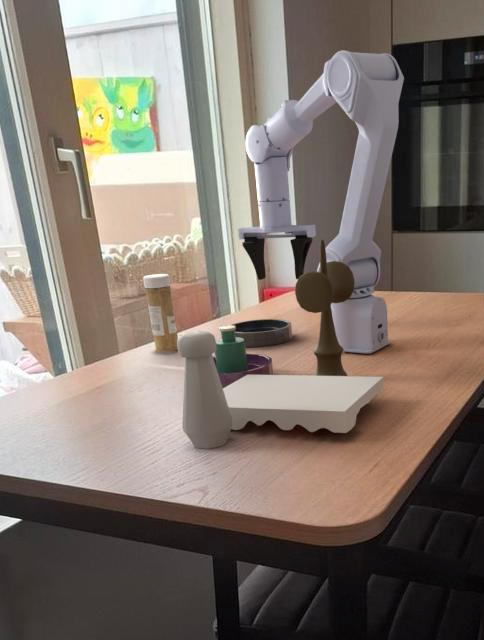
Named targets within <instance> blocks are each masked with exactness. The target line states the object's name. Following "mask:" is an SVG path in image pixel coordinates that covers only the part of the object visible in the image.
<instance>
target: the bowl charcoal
mask: <svg viewBox="0 0 484 640" xmlns="http://www.w3.org/2000/svg"><path fill="white" fill-rule="evenodd" d="M231 325H233V326H235V327H236V329H235V337H240V338H244V340H245V348H266V347H272V346H278V345H282V344H285V343H287V342H290V341H291V340H293V327H292V322H291V321H289V320H285V319H277V318H261V319H250V320H244V321H243V320H242V321H240V322H235V323H232V324H231Z"/></svg>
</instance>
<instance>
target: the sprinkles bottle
mask: <svg viewBox="0 0 484 640" xmlns="http://www.w3.org/2000/svg"><path fill="white" fill-rule="evenodd" d="M142 281H143V287H144V288H145V289H144V290H145V293H146V300H147V307H148V314H149V319H150V326H151V331H152V336H153V340H154V346H155V348H154V351H155V352H157V353H167V352H168V353H169V352H174V351H178V349H177V340H178V338H179V336H178V329H177V327H178V326H177V321H176V317H175V316H176V315H175V310H174V304H173V297H172V291H171V285H172V284H171V277H170V275H169V274H168V273H154V274H148V275H145V276H143V277H142Z"/></svg>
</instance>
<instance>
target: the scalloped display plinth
mask: <svg viewBox="0 0 484 640" xmlns="http://www.w3.org/2000/svg"><path fill="white" fill-rule="evenodd" d="M382 390H384V376H362V375H361V376H356V375H351V376H350V375H347V376H314V375H300V374H299V375H297V374H296V375H295V374H293V375H292V374H291V375H290V374H273V375H246V376H244V377H243V378H241V379H239V380H237V381H235V382H234V383H232V384H230V385H228V386H227V387H225V388H223V391H224V394H225V398H226V401H227V404H228V407H229V410H230V414H231V417H232V427H231V430H233V431H236V430H238V431H239V430H241V429H244V428H245V426H246V424H247V423H248V422H252V423H254V424H255V425H256V426H262V425H264V424H265V423H266V422H267V421H271V422H272V423H274V424H275V425H276V426H277V427H278V428H279V429H281V430H282V431H292V430H293V429H294V428H295V427H296V426H297V425H299V426H301V427H303V428H304V429H305V430H307V431H308V432H309V433H315V432H317V431H318V430H320V429H326V430H328V431H330V432H332V433H335V434H336V433H340V434H347V433H348V432H350V431H351V430H353V428H354V427H355V426H356V423H357V415H358V414H359V413H360V409H361V408H363V407H364V406H365V405H367V404H369V403H370V402H371V400H372V399H373V398H374V397H375V396H377V394H379V393H380V392H382Z"/></svg>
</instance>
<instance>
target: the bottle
mask: <svg viewBox="0 0 484 640" xmlns="http://www.w3.org/2000/svg"><path fill="white" fill-rule="evenodd" d="M235 329H236V327H235V326H233V325H232V324H228V325H222V326H219V328H218V330H219V331H220V334H221V338H217V339H215V340H216V351H215V353H214V356H215V359H216V367H217V372H218V373H234V372H242V371H247V370H248V367H247V358H246V353H247V350H246V349H247V348H246V347H245V340H244V338H240V337H235Z"/></svg>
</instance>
